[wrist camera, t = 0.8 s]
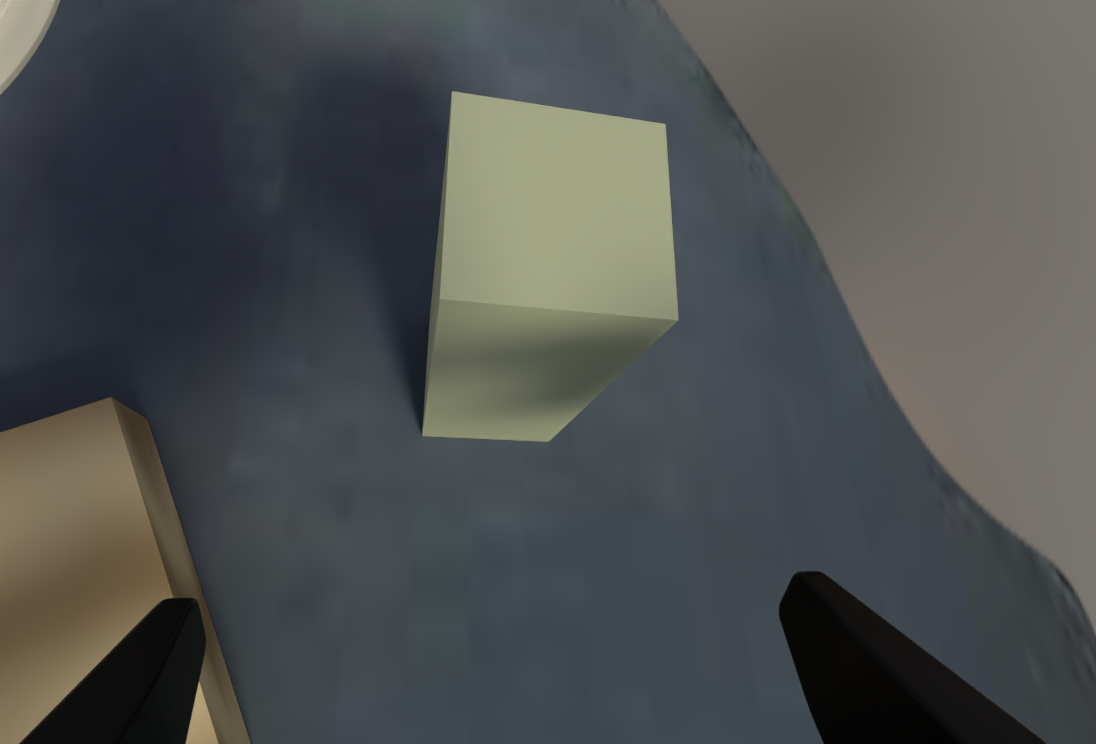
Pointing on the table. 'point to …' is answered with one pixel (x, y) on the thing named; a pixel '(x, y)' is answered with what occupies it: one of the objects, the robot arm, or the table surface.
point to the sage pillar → (544, 265)
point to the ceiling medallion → (21, 34)
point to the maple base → (91, 564)
